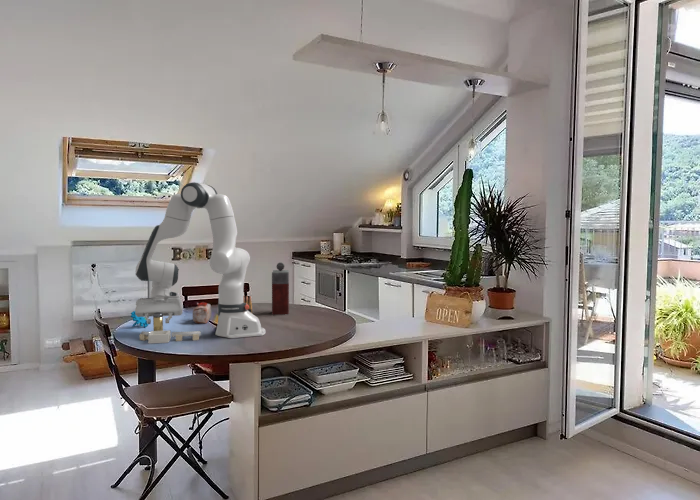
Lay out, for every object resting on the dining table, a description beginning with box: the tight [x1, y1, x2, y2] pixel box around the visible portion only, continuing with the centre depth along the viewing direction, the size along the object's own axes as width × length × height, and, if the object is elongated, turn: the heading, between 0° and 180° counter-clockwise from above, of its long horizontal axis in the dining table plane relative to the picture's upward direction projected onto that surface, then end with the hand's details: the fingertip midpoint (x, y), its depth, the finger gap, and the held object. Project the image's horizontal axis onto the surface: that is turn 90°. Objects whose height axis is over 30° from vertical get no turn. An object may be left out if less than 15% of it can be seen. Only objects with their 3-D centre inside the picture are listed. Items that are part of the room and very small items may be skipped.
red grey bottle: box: [271, 261, 290, 316], centre depth 293 cm, size 9×11×28 cm
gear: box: [130, 310, 150, 328], centre depth 257 cm, size 11×6×10 cm
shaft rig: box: [147, 330, 202, 344], centre depth 230 cm, size 21×8×4 cm, turn 102°
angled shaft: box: [139, 330, 151, 341], centre depth 231 cm, size 4×4×4 cm
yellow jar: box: [152, 313, 164, 331], centre depth 238 cm, size 4×4×10 cm
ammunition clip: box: [243, 295, 253, 314], centre depth 278 cm, size 11×2×12 cm, turn 88°
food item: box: [192, 301, 212, 324], centre depth 270 cm, size 14×8×10 cm, turn 7°
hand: (157, 323), depth 237 cm, fingers open, 6 cm apart
